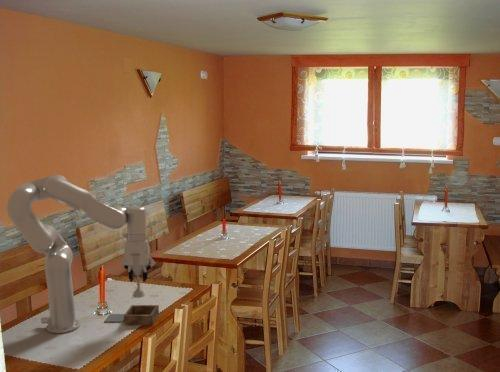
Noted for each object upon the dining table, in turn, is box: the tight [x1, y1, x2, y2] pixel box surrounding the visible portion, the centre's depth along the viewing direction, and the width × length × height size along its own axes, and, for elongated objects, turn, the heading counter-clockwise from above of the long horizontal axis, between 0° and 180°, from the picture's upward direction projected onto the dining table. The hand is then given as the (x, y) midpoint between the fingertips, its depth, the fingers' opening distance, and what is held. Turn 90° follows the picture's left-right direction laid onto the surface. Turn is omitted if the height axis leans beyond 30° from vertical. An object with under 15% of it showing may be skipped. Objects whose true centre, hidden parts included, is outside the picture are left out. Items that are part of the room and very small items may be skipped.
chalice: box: [131, 255, 146, 299], centre depth 230 cm, size 7×7×18 cm
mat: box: [103, 313, 125, 323], centre depth 235 cm, size 8×8×1 cm
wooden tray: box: [123, 304, 160, 326], centre depth 233 cm, size 12×12×4 cm
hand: (138, 280), depth 230 cm, fingers closed on chalice, 4 cm apart
